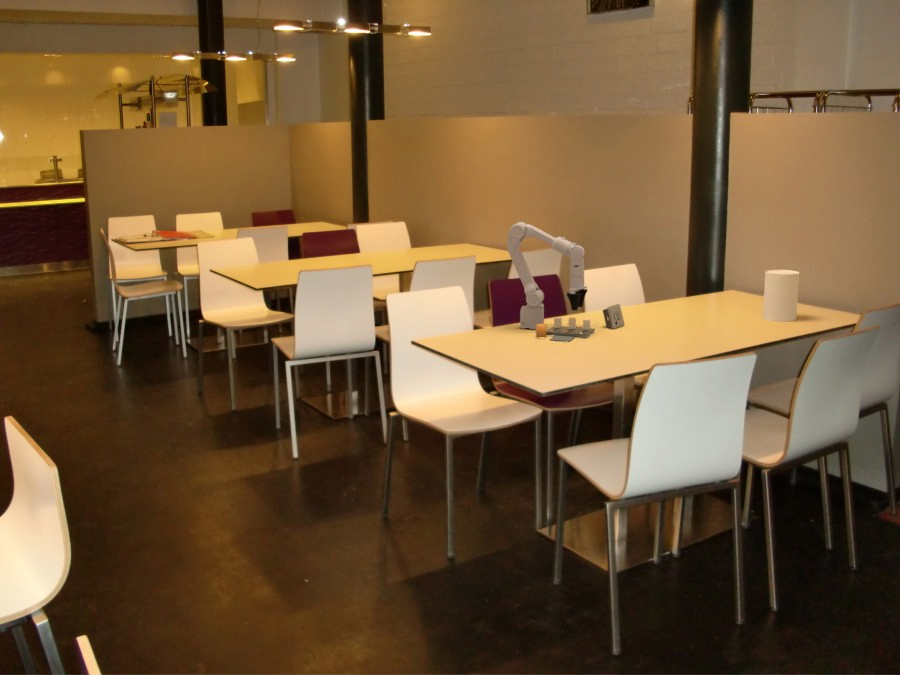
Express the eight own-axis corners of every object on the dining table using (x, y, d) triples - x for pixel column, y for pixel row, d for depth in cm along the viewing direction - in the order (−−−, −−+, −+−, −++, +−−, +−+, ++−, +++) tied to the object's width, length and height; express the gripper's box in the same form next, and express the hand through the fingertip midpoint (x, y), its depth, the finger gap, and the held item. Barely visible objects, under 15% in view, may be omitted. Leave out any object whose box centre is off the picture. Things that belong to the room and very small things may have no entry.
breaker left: (554, 327, 371) (554, 318, 370) (555, 326, 373) (555, 317, 372) (560, 328, 370) (560, 318, 369) (561, 327, 372) (561, 317, 371)
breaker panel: (545, 335, 365) (545, 330, 364) (554, 329, 375) (554, 324, 375) (586, 338, 358) (586, 333, 358) (594, 332, 369) (594, 327, 368)
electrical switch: (613, 329, 373) (612, 307, 372) (602, 329, 377) (601, 307, 375) (624, 325, 381) (623, 303, 379) (613, 325, 384) (612, 303, 382)
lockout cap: (535, 337, 361) (535, 325, 360) (538, 335, 365) (538, 323, 364) (544, 338, 360) (544, 325, 359) (547, 336, 363) (547, 323, 362)
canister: (793, 322, 381) (796, 275, 377) (759, 320, 387) (762, 273, 383) (798, 317, 392) (801, 270, 388) (766, 314, 399) (768, 268, 395)
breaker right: (582, 329, 366) (583, 319, 365) (584, 328, 368) (584, 319, 367) (588, 330, 365) (589, 320, 364) (590, 329, 367) (590, 319, 366)
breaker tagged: (568, 328, 369) (568, 318, 368) (569, 327, 370) (569, 317, 370) (574, 329, 368) (574, 318, 367) (575, 328, 369) (575, 317, 369)
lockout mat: (549, 340, 355) (549, 339, 355) (555, 336, 362) (555, 335, 362) (569, 342, 352) (569, 341, 352) (575, 337, 359) (575, 336, 359)
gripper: (581, 278, 363) (581, 312, 366) (591, 273, 376) (591, 305, 379) (564, 278, 366) (564, 311, 368) (574, 272, 379) (574, 305, 381)
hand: (577, 308), depth 374 cm, fingers open, 7 cm apart
